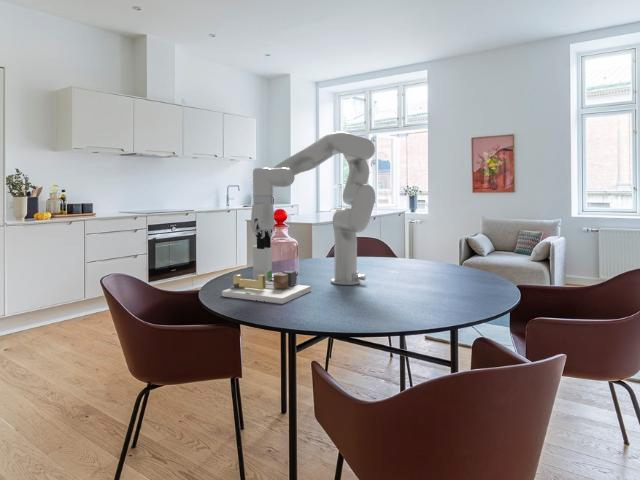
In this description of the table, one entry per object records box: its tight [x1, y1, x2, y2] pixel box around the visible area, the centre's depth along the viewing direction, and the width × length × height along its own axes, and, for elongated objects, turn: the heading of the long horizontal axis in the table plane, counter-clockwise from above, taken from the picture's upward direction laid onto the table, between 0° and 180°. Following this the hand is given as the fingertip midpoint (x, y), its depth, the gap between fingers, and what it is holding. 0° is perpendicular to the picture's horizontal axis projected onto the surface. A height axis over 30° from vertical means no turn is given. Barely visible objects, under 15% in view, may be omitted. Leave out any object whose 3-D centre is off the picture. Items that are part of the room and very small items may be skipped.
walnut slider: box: [272, 272, 288, 289], centre depth 177 cm, size 4×4×5 cm
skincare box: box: [252, 244, 273, 282], centre depth 202 cm, size 8×7×16 cm
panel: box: [221, 281, 312, 305], centre depth 179 cm, size 27×22×2 cm
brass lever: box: [232, 273, 266, 290], centre depth 177 cm, size 14×3×5 cm, turn 65°
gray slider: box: [281, 270, 297, 286], centre depth 183 cm, size 4×4×5 cm
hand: (263, 247), depth 180 cm, fingers open, 3 cm apart
